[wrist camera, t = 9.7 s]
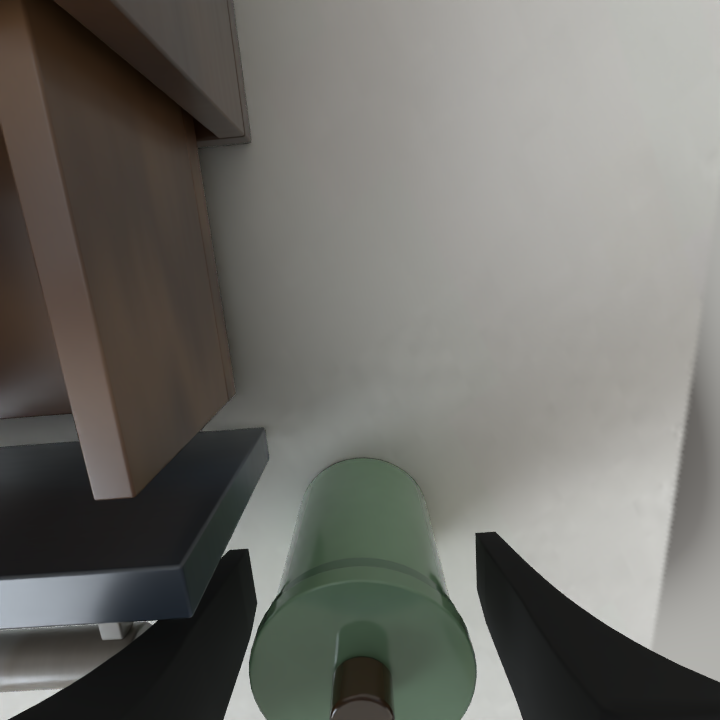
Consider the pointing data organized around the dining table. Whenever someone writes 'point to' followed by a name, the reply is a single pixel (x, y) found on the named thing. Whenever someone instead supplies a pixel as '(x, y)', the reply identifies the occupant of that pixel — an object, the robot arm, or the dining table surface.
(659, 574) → the dining table surface
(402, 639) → the pot
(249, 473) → the drawer
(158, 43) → the cabinet
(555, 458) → the dining table surface
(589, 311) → the dining table surface
